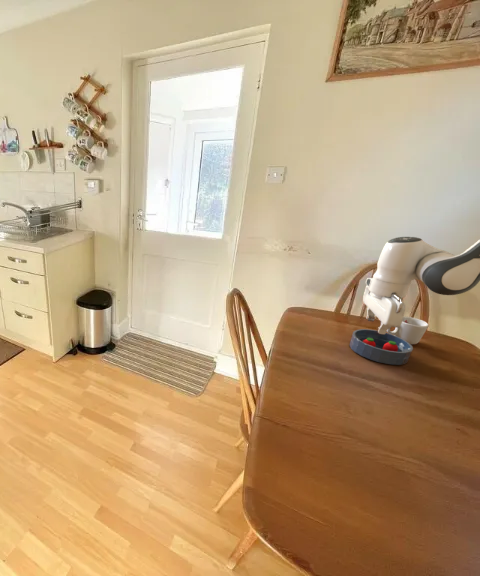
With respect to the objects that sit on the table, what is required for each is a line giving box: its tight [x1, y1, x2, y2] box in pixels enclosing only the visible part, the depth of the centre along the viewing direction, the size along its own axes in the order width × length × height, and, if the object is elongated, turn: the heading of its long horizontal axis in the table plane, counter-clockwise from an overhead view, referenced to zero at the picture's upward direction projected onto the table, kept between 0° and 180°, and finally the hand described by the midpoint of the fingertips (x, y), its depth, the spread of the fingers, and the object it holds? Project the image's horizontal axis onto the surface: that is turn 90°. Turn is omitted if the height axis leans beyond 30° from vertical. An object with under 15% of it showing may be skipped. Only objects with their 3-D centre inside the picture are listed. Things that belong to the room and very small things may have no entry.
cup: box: [386, 315, 429, 345], centre depth 112 cm, size 11×8×8 cm
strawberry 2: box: [383, 341, 398, 352], centre depth 104 cm, size 4×4×4 cm
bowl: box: [348, 328, 414, 366], centre depth 105 cm, size 15×15×5 cm
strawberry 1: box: [362, 338, 375, 347], centre depth 106 cm, size 4×4×4 cm
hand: (375, 326), depth 104 cm, fingers open, 8 cm apart
